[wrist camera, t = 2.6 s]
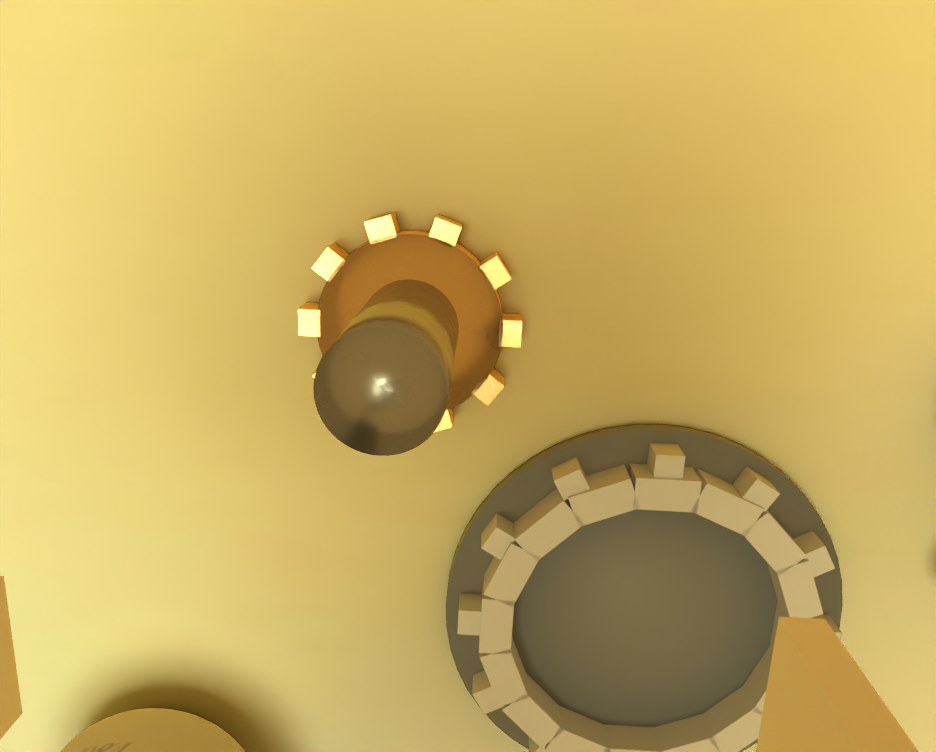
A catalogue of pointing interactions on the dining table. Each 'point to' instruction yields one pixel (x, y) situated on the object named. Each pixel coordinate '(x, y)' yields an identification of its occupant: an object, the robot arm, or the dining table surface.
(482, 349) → the sun gear
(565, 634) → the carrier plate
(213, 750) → the teacup
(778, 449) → the dining table surface
